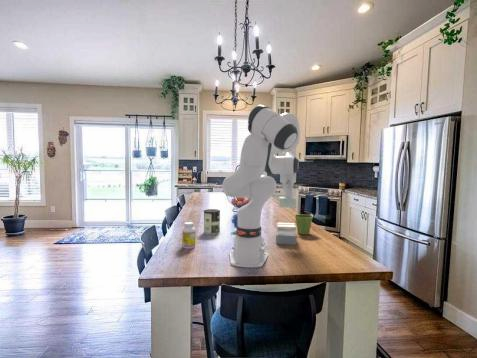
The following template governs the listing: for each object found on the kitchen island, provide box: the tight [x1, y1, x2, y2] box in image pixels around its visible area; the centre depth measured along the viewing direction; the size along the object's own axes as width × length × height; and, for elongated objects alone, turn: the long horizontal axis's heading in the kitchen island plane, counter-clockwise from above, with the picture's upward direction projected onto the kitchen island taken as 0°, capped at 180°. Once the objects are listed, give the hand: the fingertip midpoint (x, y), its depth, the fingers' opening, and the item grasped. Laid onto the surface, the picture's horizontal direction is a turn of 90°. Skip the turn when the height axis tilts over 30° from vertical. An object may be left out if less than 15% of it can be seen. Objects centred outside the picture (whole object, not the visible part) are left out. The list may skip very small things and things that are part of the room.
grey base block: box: [275, 230, 298, 246], centre depth 153 cm, size 11×11×5 cm
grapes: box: [231, 212, 238, 228], centre depth 174 cm, size 12×7×12 cm, turn 98°
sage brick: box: [278, 196, 297, 209], centre depth 152 cm, size 6×9×5 cm, turn 84°
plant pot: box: [294, 213, 314, 235], centre depth 170 cm, size 12×12×11 cm
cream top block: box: [276, 221, 297, 236], centre depth 153 cm, size 10×10×5 cm
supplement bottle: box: [181, 221, 196, 250], centre depth 140 cm, size 7×7×13 cm
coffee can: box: [203, 208, 221, 236], centre depth 169 cm, size 10×10×14 cm
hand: (287, 203), depth 152 cm, fingers closed on sage brick, 6 cm apart
